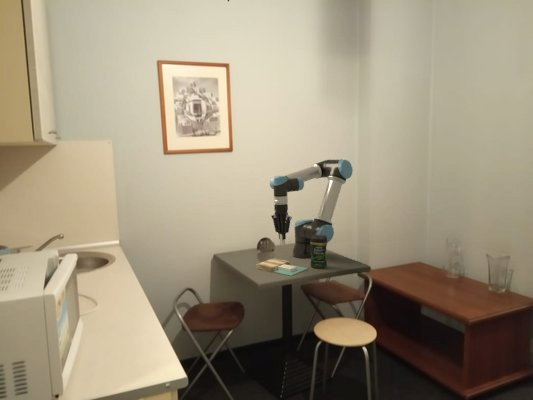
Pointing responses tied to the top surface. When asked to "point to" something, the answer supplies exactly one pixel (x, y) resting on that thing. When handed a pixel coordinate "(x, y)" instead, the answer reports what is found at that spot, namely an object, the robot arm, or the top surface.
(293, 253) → the robot arm
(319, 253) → the coffee jar
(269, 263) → the tan flat block
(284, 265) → the card
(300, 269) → the mat
